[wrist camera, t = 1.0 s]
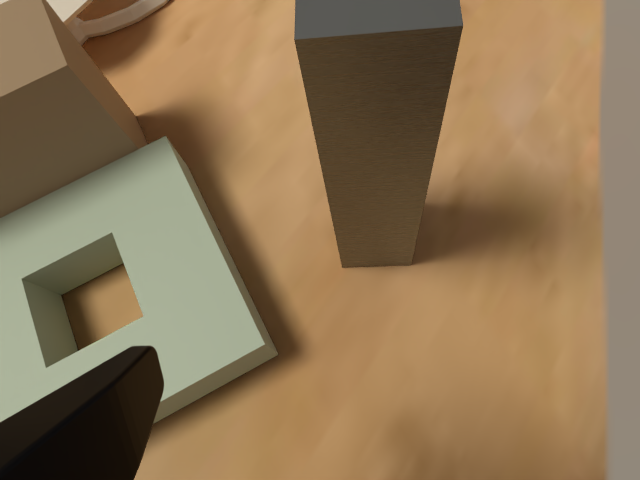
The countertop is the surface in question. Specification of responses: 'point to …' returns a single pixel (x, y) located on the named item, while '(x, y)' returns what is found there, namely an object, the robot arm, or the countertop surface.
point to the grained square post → (377, 114)
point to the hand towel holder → (71, 3)
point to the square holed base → (103, 230)
